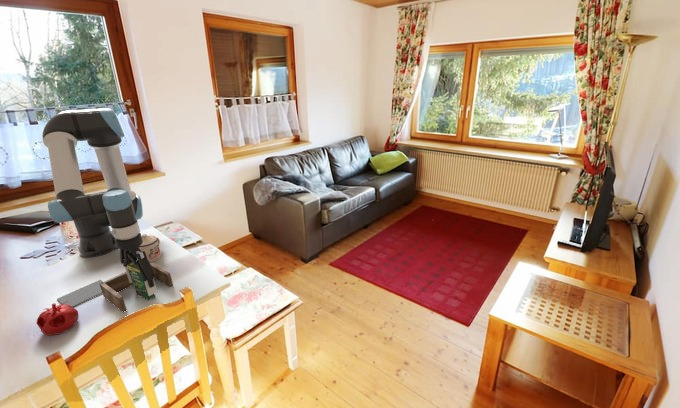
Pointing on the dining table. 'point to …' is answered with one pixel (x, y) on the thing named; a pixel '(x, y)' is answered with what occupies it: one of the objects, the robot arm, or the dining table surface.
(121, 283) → the wooden u-shaped frame
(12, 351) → the dining table surface
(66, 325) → the red carved pumpkin
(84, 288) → the slate mat
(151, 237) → the teacup with lid
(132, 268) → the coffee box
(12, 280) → the dining table surface
